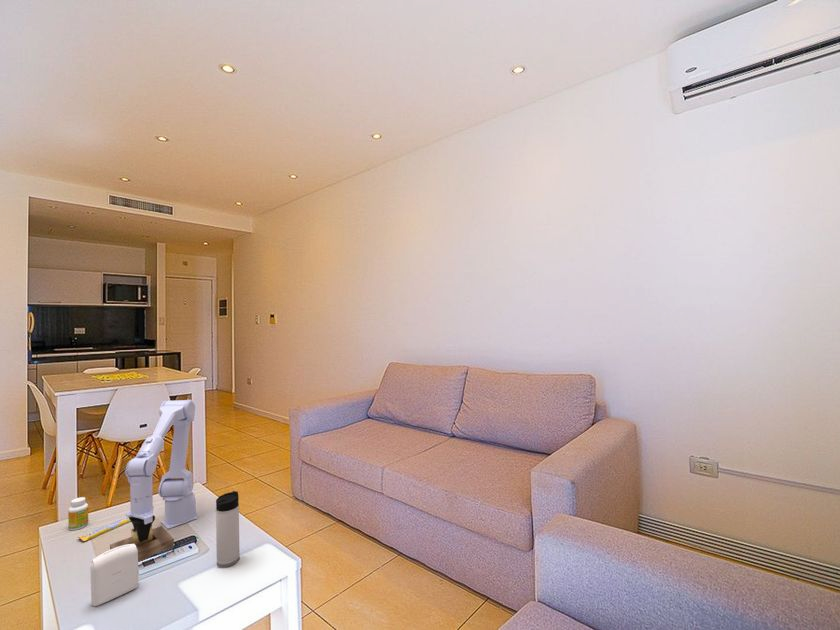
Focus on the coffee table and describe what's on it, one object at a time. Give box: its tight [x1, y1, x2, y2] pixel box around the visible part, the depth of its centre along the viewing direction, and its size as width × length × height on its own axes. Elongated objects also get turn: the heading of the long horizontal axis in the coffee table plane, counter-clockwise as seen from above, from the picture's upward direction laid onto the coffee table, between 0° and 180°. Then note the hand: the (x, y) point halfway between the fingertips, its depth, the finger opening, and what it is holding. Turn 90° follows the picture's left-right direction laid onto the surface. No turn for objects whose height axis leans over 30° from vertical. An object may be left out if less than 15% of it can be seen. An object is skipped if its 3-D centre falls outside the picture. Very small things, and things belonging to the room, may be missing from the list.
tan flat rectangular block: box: [130, 525, 153, 547], centre depth 123 cm, size 5×2×5 cm, turn 139°
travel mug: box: [215, 490, 241, 569], centre depth 119 cm, size 6×7×20 cm
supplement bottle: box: [68, 496, 89, 531], centre depth 141 cm, size 5×5×10 cm
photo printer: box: [90, 544, 140, 607], centre depth 105 cm, size 10×4×12 cm, turn 140°
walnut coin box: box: [109, 525, 175, 562], centre depth 124 cm, size 14×12×4 cm
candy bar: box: [77, 517, 132, 542], centre depth 139 cm, size 17×4×2 cm, turn 154°
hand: (142, 538), depth 124 cm, fingers closed on tan flat rectangular block, 2 cm apart
